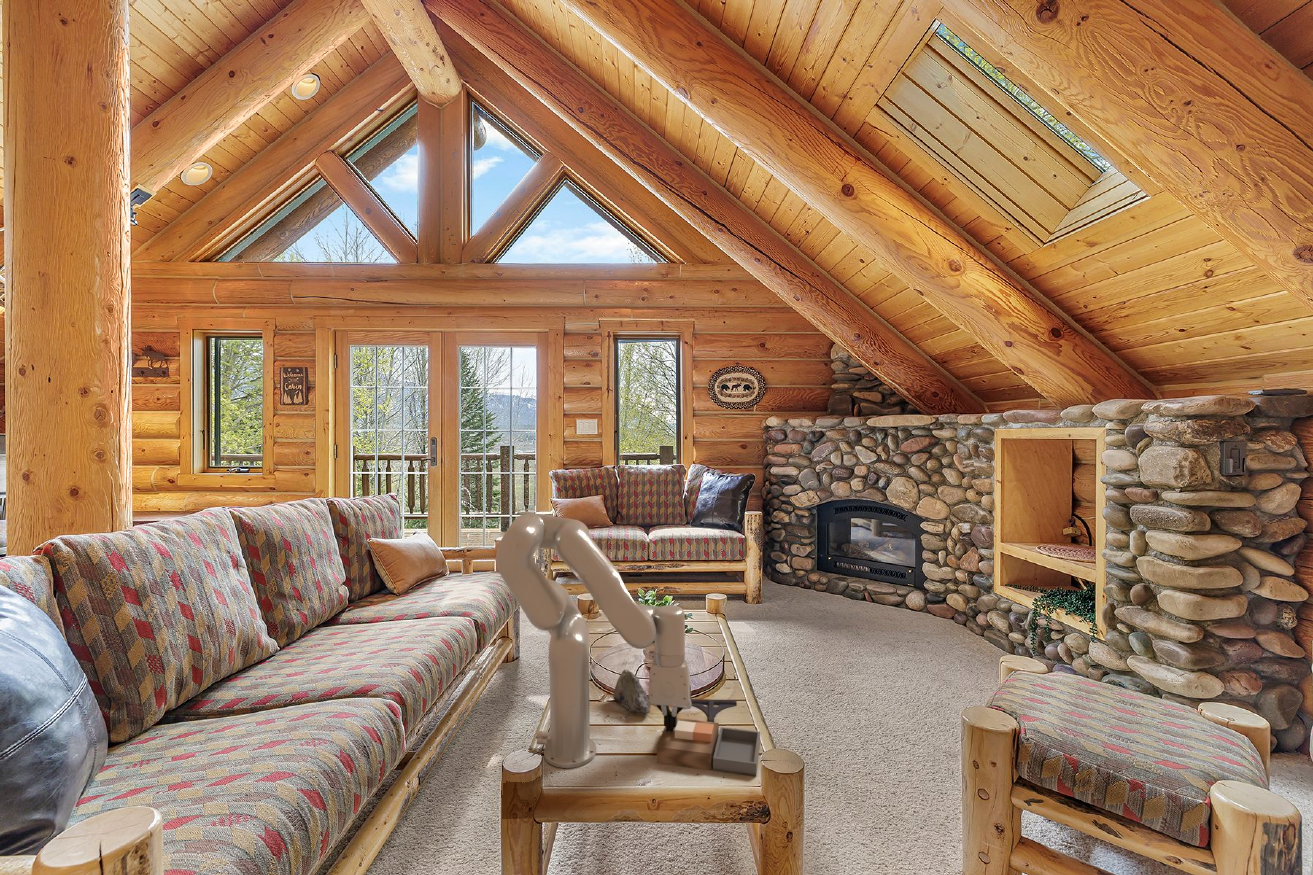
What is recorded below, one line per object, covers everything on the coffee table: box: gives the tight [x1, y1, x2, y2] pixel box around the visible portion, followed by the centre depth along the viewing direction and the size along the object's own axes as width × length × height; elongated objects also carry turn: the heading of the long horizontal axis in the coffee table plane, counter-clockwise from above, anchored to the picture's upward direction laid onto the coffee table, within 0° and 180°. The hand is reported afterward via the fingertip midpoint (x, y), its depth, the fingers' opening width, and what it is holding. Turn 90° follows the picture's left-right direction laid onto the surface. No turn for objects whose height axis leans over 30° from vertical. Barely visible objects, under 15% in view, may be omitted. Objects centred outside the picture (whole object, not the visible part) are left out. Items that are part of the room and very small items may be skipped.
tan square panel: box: [656, 717, 720, 771], centre depth 150 cm, size 13×14×4 cm
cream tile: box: [675, 721, 696, 740], centre depth 150 cm, size 4×4×2 cm
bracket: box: [690, 698, 738, 722], centre depth 167 cm, size 14×15×3 cm
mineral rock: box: [613, 669, 651, 714], centre depth 171 cm, size 13×11×10 cm
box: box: [712, 726, 761, 777], centre depth 148 cm, size 10×14×3 cm
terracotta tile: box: [693, 722, 714, 742], centre depth 149 cm, size 4×4×2 cm
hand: (670, 728), depth 151 cm, fingers closed
